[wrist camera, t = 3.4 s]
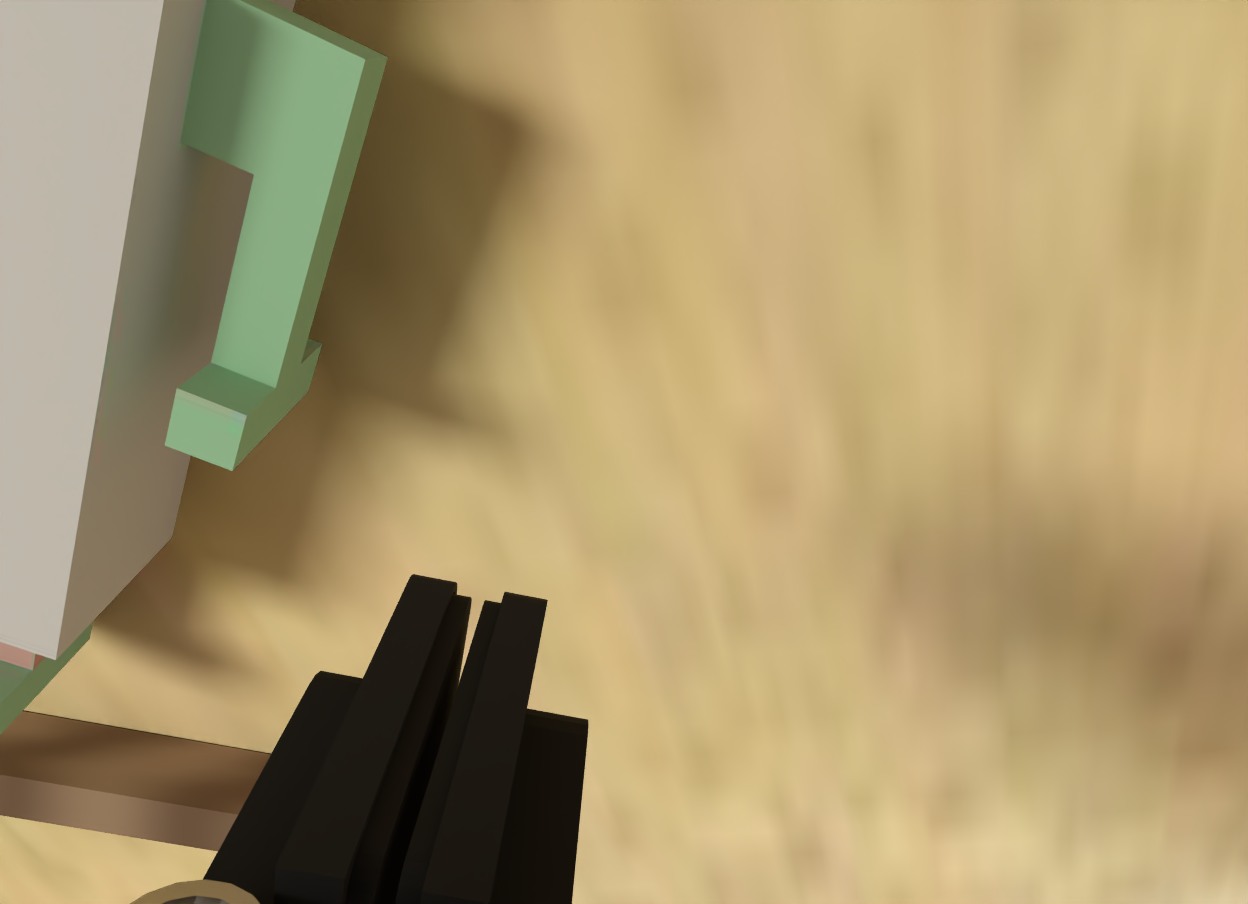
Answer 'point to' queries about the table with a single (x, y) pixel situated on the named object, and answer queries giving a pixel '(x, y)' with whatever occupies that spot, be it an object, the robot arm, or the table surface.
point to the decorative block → (151, 277)
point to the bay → (123, 780)
